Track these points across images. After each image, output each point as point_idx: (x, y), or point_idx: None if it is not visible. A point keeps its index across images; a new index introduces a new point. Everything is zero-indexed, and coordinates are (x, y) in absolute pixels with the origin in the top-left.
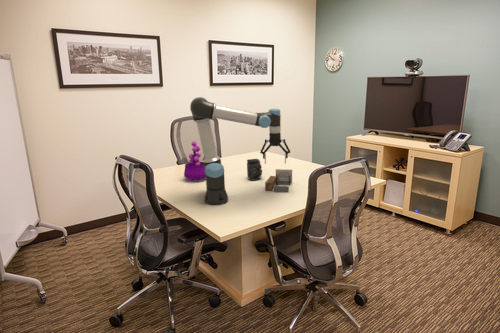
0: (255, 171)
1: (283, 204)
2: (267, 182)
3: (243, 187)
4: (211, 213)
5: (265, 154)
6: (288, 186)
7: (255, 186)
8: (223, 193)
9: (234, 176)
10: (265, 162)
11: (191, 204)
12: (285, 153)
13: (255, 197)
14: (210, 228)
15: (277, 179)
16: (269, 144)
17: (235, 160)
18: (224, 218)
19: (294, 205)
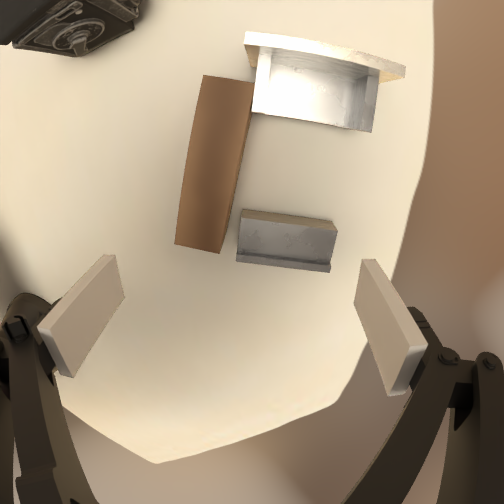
0: (82, 31)
1: (283, 378)
2: (190, 242)
3: (68, 176)
4: (81, 398)
5: (71, 377)
6: (334, 238)
7: (123, 152)
8: (54, 369)
9: None
10: (115, 306)
11: None
12: (415, 359)
13: (157, 315)
14: (120, 444)
15: (263, 113)
16: (21, 491)
17: None
18: (124, 424)
19: (323, 383)
